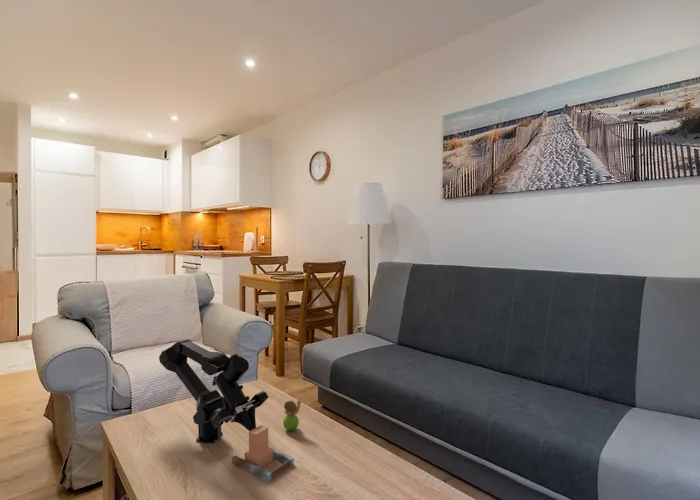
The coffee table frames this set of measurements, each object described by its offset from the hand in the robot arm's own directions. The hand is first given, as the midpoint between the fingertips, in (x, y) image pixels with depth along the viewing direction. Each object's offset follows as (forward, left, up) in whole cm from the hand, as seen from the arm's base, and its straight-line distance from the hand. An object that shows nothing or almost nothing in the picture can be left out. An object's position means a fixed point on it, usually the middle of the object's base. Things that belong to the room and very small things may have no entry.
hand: (254, 432), depth 123 cm
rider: (+2, -1, -9) cm, 9 cm away
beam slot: (+3, -1, -9) cm, 9 cm away
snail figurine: (+6, +20, -9) cm, 22 cm away
